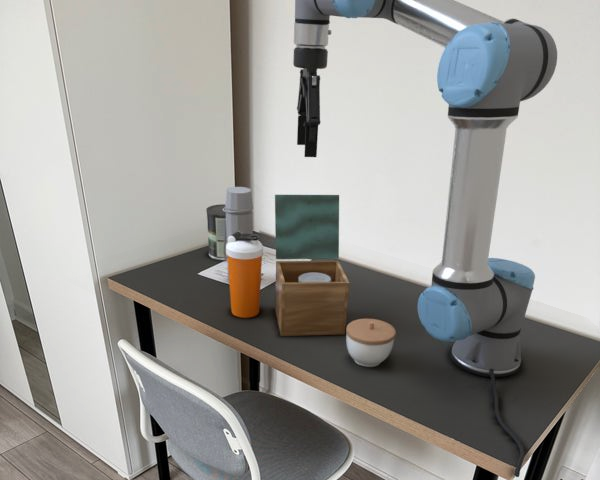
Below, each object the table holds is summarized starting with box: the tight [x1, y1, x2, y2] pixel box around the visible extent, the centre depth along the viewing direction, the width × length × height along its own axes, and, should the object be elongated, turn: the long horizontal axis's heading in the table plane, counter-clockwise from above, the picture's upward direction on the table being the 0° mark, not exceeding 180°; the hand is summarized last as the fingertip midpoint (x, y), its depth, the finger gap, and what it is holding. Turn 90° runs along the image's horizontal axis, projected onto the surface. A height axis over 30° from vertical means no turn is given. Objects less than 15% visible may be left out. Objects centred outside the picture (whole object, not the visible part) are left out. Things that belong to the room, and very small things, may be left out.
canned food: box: [298, 272, 331, 282], centre depth 143 cm, size 8×8×11 cm
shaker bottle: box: [226, 231, 264, 319], centre depth 144 cm, size 9×9×20 cm
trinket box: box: [345, 318, 397, 368], centre depth 129 cm, size 11×11×9 cm
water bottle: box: [223, 186, 254, 281], centre depth 160 cm, size 9×8×25 cm
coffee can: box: [205, 203, 227, 261], centre depth 179 cm, size 10×10×14 cm
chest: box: [274, 260, 351, 337], centre depth 143 cm, size 14×16×13 cm
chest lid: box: [274, 194, 340, 260], centre depth 143 cm, size 15×16×1 cm
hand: (306, 150), depth 140 cm, fingers open, 13 cm apart
